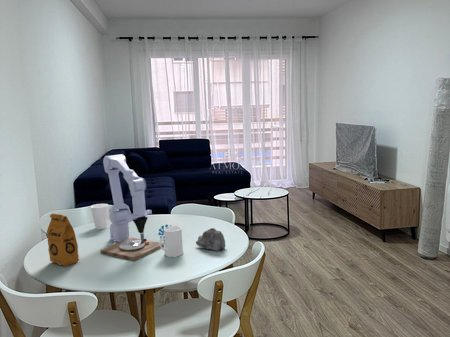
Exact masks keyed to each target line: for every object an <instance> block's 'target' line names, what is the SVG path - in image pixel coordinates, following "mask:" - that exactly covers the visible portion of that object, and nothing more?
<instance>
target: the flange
mask: <svg viewBox="0 0 450 337" xmlns="http://www.w3.org/2000/svg"><path fill="white" fill-rule="evenodd" d="M139 235H140V239H141V240H130V241H126V242H123V243H121V244H120V245H119V247H120V249H121V250H125V251H132V250H138V249H141V248H143V247H144V246H145V244H149V241H150V240H148V241H144V239H145V232H143V233H139Z"/></svg>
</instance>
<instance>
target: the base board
mask: <svg viewBox="0 0 450 337" xmlns="http://www.w3.org/2000/svg"><path fill="white" fill-rule="evenodd" d="M131 237H132V236H130V238H128V239H126V240H123V241H121V242H116V243H113V244H111V245H110V246H106V247H104V248H102V249H100V250H99V252H100V254H103V255H108V256H113V257H117V258H120V259H126V260H129V261H132V262H133V261H134V262H136V261H138V260H140V259H142V258H144V257H146V256H147V255H150V254H152V253H154V252H156V251H158V250H161V247H160V242H157V241H153V240H152V241H151V240H148V239H147V238H144V241H149V244H145V246H144V247H143V248H141V249H138V250H132V251H125V250H121V249H120V247H119V245H120V244H121V243H123V242H126V241H130V240H141V238H135V237H133V238H131ZM161 246H162V248H165V242H161Z"/></svg>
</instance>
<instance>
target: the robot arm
mask: <svg viewBox="0 0 450 337" xmlns="http://www.w3.org/2000/svg"><path fill="white" fill-rule="evenodd" d="M102 163H103V164H102V165H103V168H104V172H105V173H106V174H108V179H109V186H110V191H111V196H112V201H113V205H112V206H111V207H110V208H109V209H108V213H109V220H110V222H111V223H110V226H109V234H110V238H109V241H112V242H116V243H118V242H121V241H123V240H126V239H128V238H130V237H131V238H134V237H133V236H130V227H129V223H131V222H132V221H133V223H134V225H135V226H136V229H137V232H138V233H139V234H140V233H145V226H146V224H147V220H148V218H149V217H148V215H153V213H152V212H153V211H152V209H146V196H145V195H146V194H145V191H146V189H147V181H146V179H145V178H143V177H140V176H138V174H137V173H136V172H135V170H134V169H130V168H129V166H128V164H127V158H126V156H125V155H124V154H123V153H120V154H114V155H105V156H104V158H103V161H102ZM120 172H121V173H122V174H123V175H122V177H123V179H124V181H126V183H127V184H128V189H129V191H130V196H131V198H132V199H131V200H132V211H133V212H131V210H130V206H129V205H127V204H126V203H124V198H123V191H122V186H121V181H120V176H119V173H120Z"/></svg>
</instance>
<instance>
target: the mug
mask: <svg viewBox="0 0 450 337" xmlns="http://www.w3.org/2000/svg"><path fill="white" fill-rule="evenodd" d="M182 230H183V229H182V227H181V226H179V225H177V226H176V225H171V226H170V225H169V226H168V227H164V235H163V236H162V235H161V236H162V237H161V239H160V238H159V243H160V247H161V248H160V250H161V249H162V250H163V251H164V255H165V257H168V258H177V257H180V256H183V254H184V250H183V248H184V247H183V233H182ZM163 237H164V238H163ZM162 240H164V241H163V243H164V247H162V246H161V243H162Z"/></svg>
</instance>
